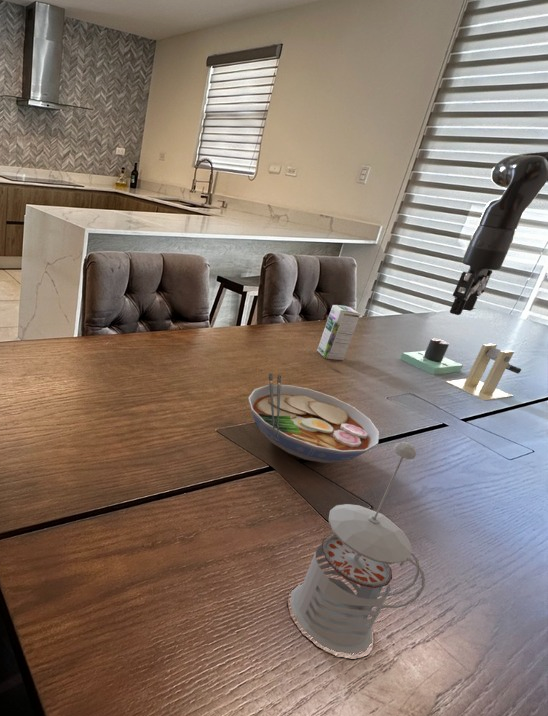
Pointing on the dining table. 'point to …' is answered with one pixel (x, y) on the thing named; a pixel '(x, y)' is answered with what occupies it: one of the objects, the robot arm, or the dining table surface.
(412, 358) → the panel
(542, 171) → the robot arm
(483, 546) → the dining table surface
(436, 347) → the black sushi roll
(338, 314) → the syrup box
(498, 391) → the wooden stand
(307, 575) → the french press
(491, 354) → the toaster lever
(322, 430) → the ramen bowl
